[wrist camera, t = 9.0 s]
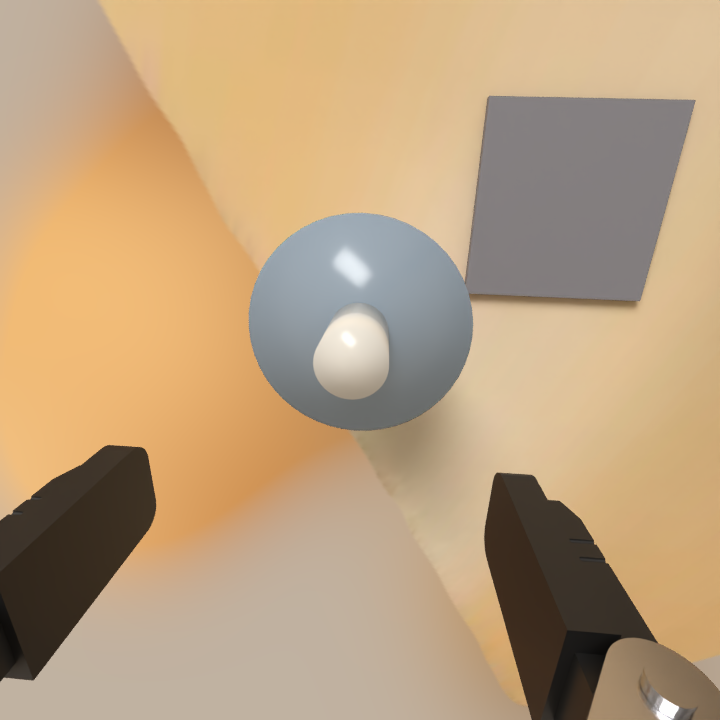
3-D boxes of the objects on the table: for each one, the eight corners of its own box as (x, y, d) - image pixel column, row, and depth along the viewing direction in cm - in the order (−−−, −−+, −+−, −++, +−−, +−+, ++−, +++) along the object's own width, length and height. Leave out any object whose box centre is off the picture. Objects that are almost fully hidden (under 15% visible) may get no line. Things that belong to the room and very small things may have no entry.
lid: (481, 217, 21) (520, 218, 14) (454, 423, 25) (476, 492, 19) (250, 209, 21) (195, 207, 15) (262, 412, 25) (223, 475, 19)
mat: (689, 102, 28) (695, 100, 28) (635, 299, 33) (640, 301, 32) (487, 98, 29) (489, 96, 28) (463, 292, 34) (465, 293, 33)
